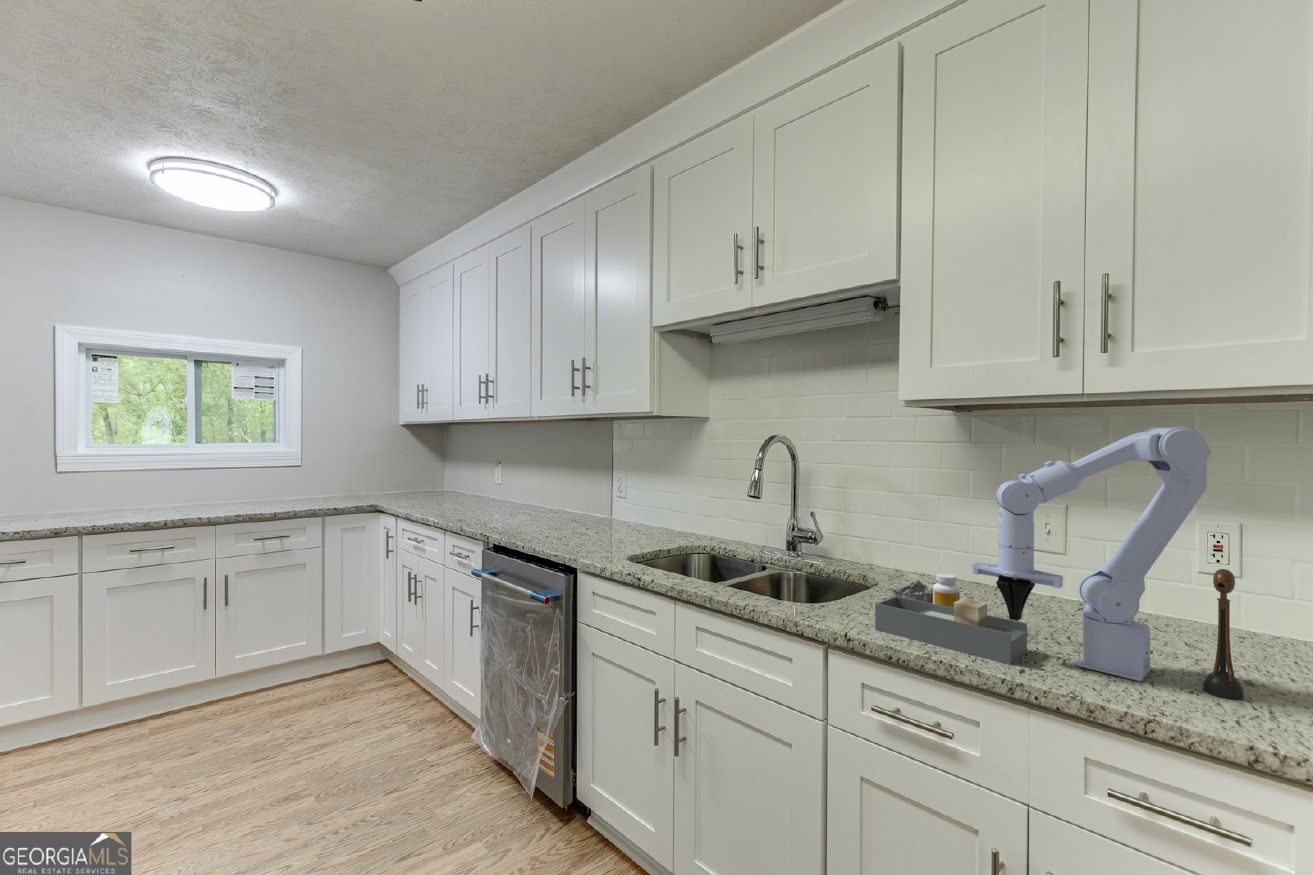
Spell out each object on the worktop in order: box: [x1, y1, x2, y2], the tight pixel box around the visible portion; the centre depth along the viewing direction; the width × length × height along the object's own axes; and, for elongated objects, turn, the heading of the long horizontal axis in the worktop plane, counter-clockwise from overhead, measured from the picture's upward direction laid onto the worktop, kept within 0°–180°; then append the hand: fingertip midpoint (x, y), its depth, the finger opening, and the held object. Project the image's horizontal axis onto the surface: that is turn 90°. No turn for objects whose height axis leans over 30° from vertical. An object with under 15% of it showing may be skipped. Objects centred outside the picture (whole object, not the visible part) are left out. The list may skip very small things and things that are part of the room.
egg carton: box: [888, 580, 933, 603], centre depth 150 cm, size 11×8×4 cm
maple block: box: [954, 598, 988, 628], centre depth 118 cm, size 4×4×4 cm
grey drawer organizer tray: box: [874, 596, 1028, 665], centre depth 121 cm, size 26×9×6 cm, turn 42°
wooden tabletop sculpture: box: [1202, 568, 1244, 701], centre depth 96 cm, size 6×5×20 cm
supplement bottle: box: [932, 573, 961, 608], centre depth 135 cm, size 5×5×10 cm
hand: (1015, 618), depth 112 cm, fingers closed
